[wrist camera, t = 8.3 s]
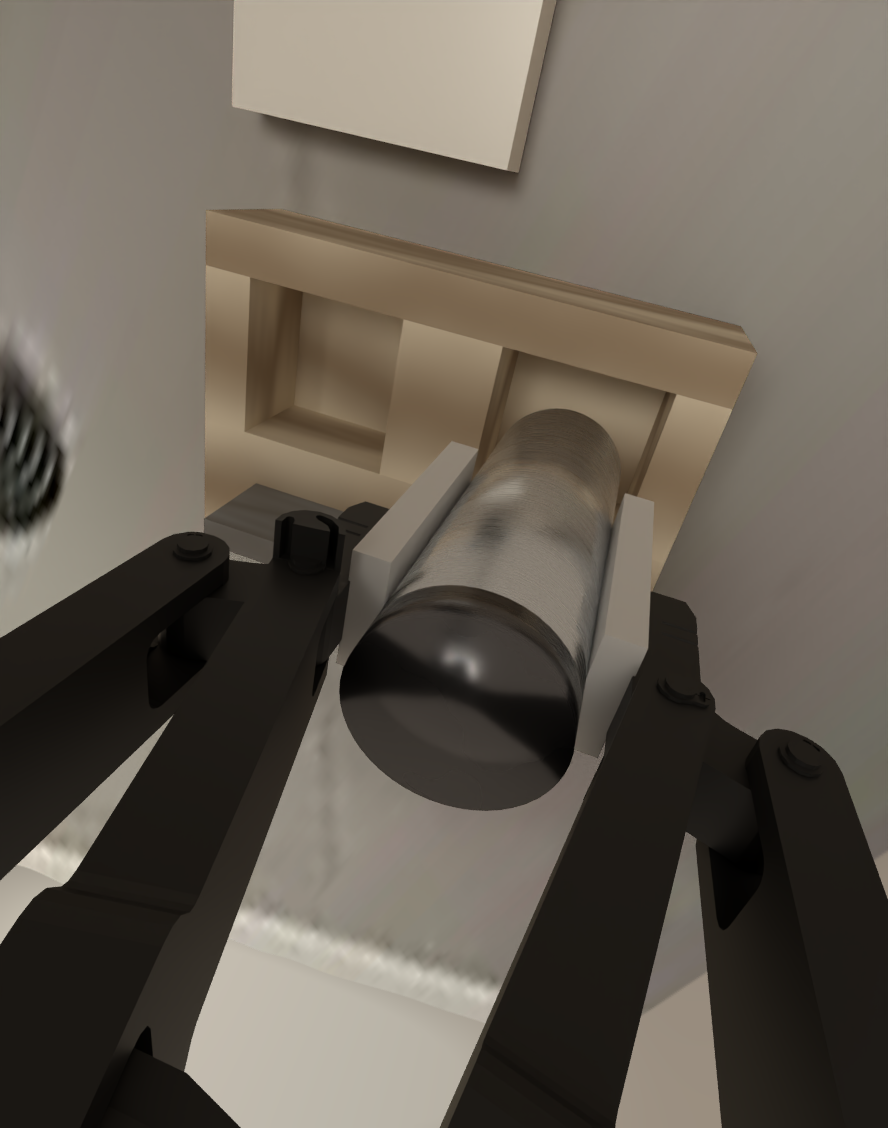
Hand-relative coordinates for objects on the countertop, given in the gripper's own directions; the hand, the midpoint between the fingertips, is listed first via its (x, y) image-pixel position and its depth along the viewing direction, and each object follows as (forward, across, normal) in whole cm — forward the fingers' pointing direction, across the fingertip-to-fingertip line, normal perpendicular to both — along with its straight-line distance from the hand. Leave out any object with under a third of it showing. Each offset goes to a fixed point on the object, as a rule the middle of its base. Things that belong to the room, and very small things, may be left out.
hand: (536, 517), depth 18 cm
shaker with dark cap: (+4, 0, 0) cm, 4 cm away
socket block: (+10, -4, -1) cm, 11 cm away
